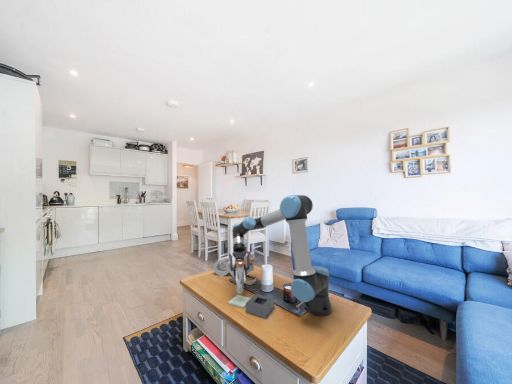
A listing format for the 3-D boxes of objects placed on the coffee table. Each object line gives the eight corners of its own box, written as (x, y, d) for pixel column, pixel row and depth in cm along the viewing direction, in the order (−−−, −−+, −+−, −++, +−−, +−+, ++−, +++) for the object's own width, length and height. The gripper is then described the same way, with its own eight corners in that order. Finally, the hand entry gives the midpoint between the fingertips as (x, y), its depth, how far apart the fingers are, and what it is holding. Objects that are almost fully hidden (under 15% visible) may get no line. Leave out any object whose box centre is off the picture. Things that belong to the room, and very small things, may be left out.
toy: (247, 282, 151) (247, 254, 151) (233, 275, 164) (233, 249, 164) (257, 278, 158) (257, 252, 158) (243, 271, 170) (243, 247, 170)
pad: (251, 300, 126) (251, 298, 126) (243, 308, 117) (243, 306, 117) (237, 296, 131) (237, 294, 131) (228, 303, 122) (228, 302, 122)
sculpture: (236, 277, 166) (241, 259, 165) (233, 280, 160) (238, 262, 159) (215, 269, 170) (219, 252, 169) (211, 272, 163) (216, 254, 162)
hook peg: (247, 290, 126) (247, 260, 126) (241, 295, 120) (242, 264, 120) (237, 288, 128) (238, 259, 128) (232, 292, 123) (233, 262, 123)
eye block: (274, 307, 119) (274, 298, 119) (265, 318, 108) (266, 309, 108) (255, 302, 124) (255, 293, 124) (245, 312, 113) (245, 303, 113)
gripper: (250, 248, 141) (254, 283, 124) (225, 248, 138) (225, 285, 122) (252, 242, 135) (256, 278, 119) (225, 242, 132) (226, 279, 116)
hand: (240, 281), depth 120 cm, fingers closed on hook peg, 4 cm apart
